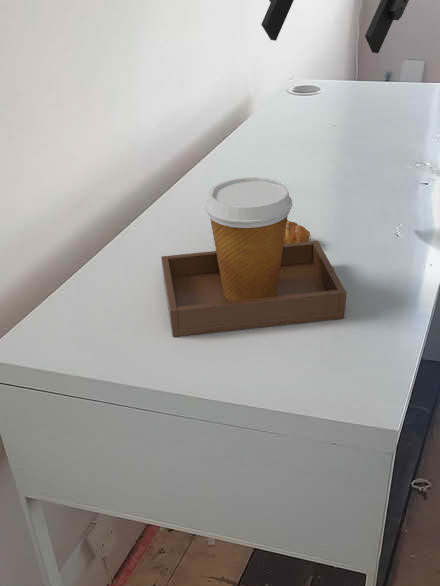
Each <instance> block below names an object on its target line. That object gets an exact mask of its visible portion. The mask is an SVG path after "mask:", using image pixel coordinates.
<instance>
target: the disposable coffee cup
mask: <svg viewBox="0 0 440 586" xmlns="http://www.w3.org/2000/svg"><path fill="white" fill-rule="evenodd" d="M292 207H293V199H292V197H291V196H290V193H289V188H288V187H287V186H286V185H284V184H283V183H282V182H281V181H279V180H276V179H271V178H267V177H255V176H252V177H251V176H250V177H249V176H248V177H237V178H232V179H231V178H230V179H227V180H224V181H221V182H219V183H217V184H215V185H213V186H212V187H211V188H210V189H209V191H208V195H207V200H206V201H205V203H204V209H205V212H206V213H207V216H208V217H209V220H210V225H211V231H212V235H213V242H214V247H215V251H216V252H217V259H218V264H219V270H220V275H221V280H222V286H223V291H224V296H225V298H226V299H227V300H229V301H237V300H246V299H256V298H265V297H275V296H276V294H277V287H278V280H279V273H280V266H281V259H282V252H283V245H284V238H285V231H286V224H287V220H288V216H289V214H290V212H291V210H292Z"/></svg>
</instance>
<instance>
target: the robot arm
mask: <svg viewBox="0 0 440 586" xmlns="http://www.w3.org/2000/svg"><path fill="white" fill-rule="evenodd" d="M268 1H269V3H270V4H269V6H268V8H267V10H266V12H265V15H264V17H263V19H262V22H261V23H260V26H261V27H262V29H263V30H264V31H265V33H266V35H267V36H268V38H269V40H270V41H273V42H274V41H276V42H277V39H278V38H279V35H280V33H281V30H282V28H283V26H284V23H285V21H286V19H287V17H288V14H289V12H290V10H291V8H292V5H293V3H294V1H295V0H268ZM409 1H410V0H380V1H379V4H378V6H377V8H376V10H375V12H374V15H373V17H372V19H371V21H370V24H369V26H368V28H367V30H366V33H365V35H364V37H365V40H366V42H367V45H368V47H369V49H370V51H371V53H373V54H379V53H380V50H381V48H382V46H383V44H384V42H385V39H386V38H387V35H388V33H389V30H390V28H391V26H392V25H393V22H394V21H399V20H401V18H402V17H403V15H404V13H405V11H406V7H407V6H408V3H409Z"/></svg>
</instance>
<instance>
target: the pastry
mask: <svg viewBox="0 0 440 586" xmlns="http://www.w3.org/2000/svg"><path fill="white" fill-rule="evenodd" d="M310 238H311V231H309V230H308V229H307V228H305V227H304V226H303V225H301V224H298V223H297V222H295V221H290V220H288V219H287V224H286V231H285V238H284V244H291V243H301V242H310Z"/></svg>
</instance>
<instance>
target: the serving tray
mask: <svg viewBox="0 0 440 586" xmlns="http://www.w3.org/2000/svg"><path fill="white" fill-rule="evenodd" d="M160 258H161V266H162V276H163V278H162V279H163V284H164V290H165V297H166V304H167V311H168V316H169V323H170V330H171V335H172V337H173V338H176V337H186V336H194V335H195V336H196V335H204V334H213V333H214V334H215V333H221V332H223V333H224V332H229V331H230V332H231V331H241V330H249V329H260V328H267V327H268V328H269V327H278V326H279V327H280V326H288V325H296V324H307V323H314V322H323V321H332V320H333V321H334V320H342V319H343V320H344V319H345V317H346V316H345V315H346V313H345V312H346V303H347V291H346V289H345V287H344V286H343V284H342V282H341V280H340V278H339V277H338V275H337V273H336V271H335V269H334V268H333V265H332V263H331V262H330V260H329V258H328V256H327V254H326V253H325V251H324V249H323V247H322V246H321V244H320V242H319V241H318V240H313V241H309V242H301V243H291V244H284V245H283V252H282V259H281V266H280V273H279V280H278V287H277V294H276V296H275V297H265V298H256V299H246V300H237V301H229V300H227V299H226V298H225V296H224V291H223V286H222V280H221V275H220V270H219V264H218V259H217V252H216V250H212V251H203V252H202V251H201V252H192V253H181V254H171V255H162V256H160Z"/></svg>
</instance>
